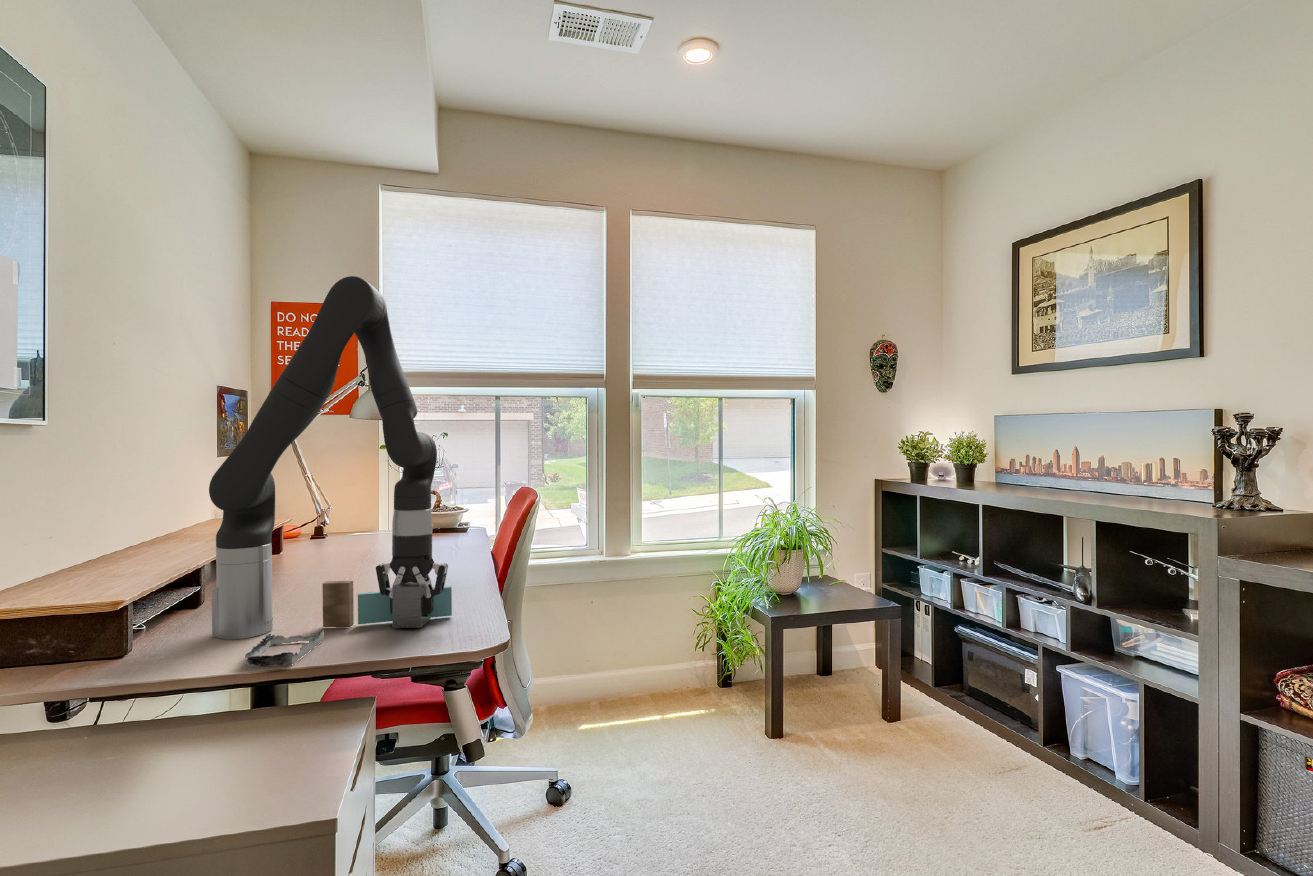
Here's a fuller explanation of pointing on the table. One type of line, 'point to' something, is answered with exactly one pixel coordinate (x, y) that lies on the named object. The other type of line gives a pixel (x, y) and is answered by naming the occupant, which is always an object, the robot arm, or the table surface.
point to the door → (378, 606)
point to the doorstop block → (408, 606)
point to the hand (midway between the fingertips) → (411, 615)
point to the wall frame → (338, 604)
